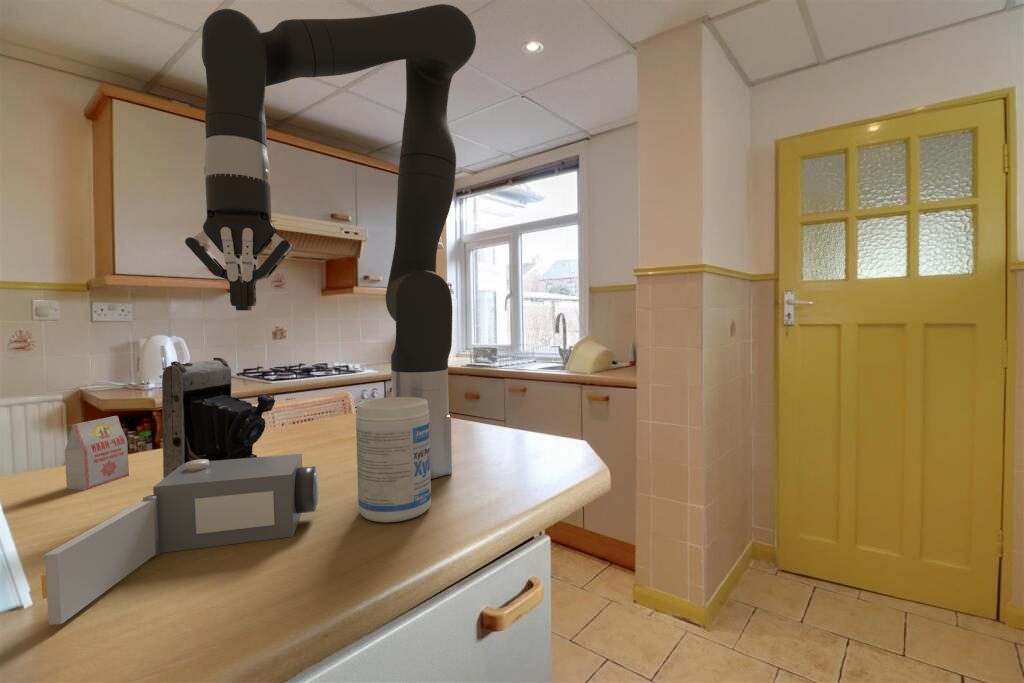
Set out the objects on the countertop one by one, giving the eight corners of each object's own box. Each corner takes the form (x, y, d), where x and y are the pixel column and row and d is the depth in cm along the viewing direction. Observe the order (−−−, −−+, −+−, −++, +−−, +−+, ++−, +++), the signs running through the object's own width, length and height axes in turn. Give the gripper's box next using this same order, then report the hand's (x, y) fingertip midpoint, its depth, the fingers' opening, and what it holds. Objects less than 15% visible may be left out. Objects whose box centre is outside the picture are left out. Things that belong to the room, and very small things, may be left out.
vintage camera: (253, 510, 67) (254, 366, 66) (159, 498, 70) (159, 361, 69) (298, 487, 76) (299, 360, 75) (213, 477, 79) (214, 356, 78)
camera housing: (321, 505, 67) (319, 446, 66) (313, 534, 58) (311, 466, 58) (186, 520, 62) (183, 457, 62) (155, 554, 54) (152, 480, 53)
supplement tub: (433, 521, 62) (431, 406, 61) (355, 529, 60) (352, 410, 59) (429, 494, 71) (427, 394, 70) (361, 500, 69) (358, 397, 68)
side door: (63, 626, 41) (58, 551, 40) (38, 627, 41) (34, 552, 40) (162, 551, 54) (159, 494, 53) (143, 552, 53) (141, 495, 53)
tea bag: (66, 488, 75) (63, 424, 74) (110, 474, 81) (107, 415, 81) (86, 490, 74) (82, 425, 74) (129, 475, 81) (125, 416, 80)
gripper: (296, 189, 70) (300, 310, 71) (191, 183, 66) (197, 311, 67) (288, 175, 63) (292, 309, 64) (169, 167, 59) (176, 310, 60)
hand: (243, 310), depth 65 cm, fingers closed
